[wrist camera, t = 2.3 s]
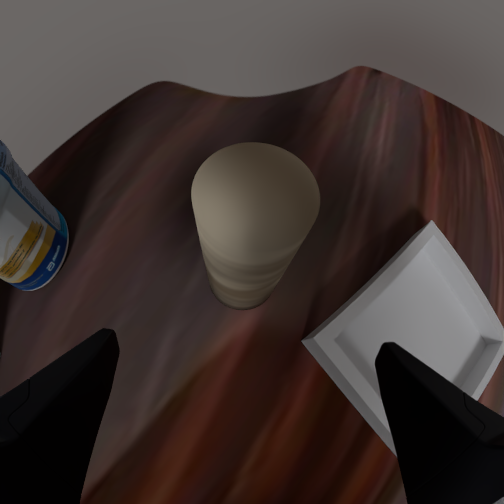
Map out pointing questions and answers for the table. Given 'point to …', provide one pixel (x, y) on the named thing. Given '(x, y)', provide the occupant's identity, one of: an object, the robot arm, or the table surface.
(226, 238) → the birch peg
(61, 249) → the beverage bottle
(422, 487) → the robot arm
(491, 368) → the grey bin
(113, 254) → the table surface
